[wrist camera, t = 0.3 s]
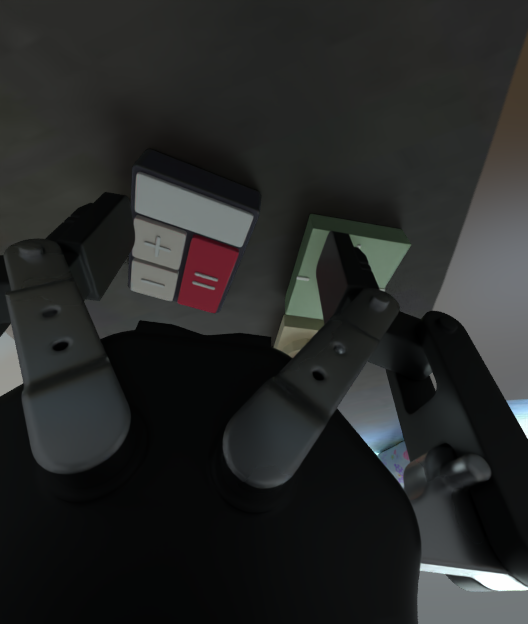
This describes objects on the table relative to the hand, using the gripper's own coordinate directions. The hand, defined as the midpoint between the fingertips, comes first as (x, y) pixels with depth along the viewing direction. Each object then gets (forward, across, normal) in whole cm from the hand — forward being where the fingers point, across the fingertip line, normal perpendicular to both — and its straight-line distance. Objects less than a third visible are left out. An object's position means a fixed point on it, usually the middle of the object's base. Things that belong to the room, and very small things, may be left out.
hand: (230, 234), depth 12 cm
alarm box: (+18, -12, +27) cm, 34 cm away
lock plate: (+17, -12, +12) cm, 24 cm away
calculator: (+18, +5, +11) cm, 22 cm away
